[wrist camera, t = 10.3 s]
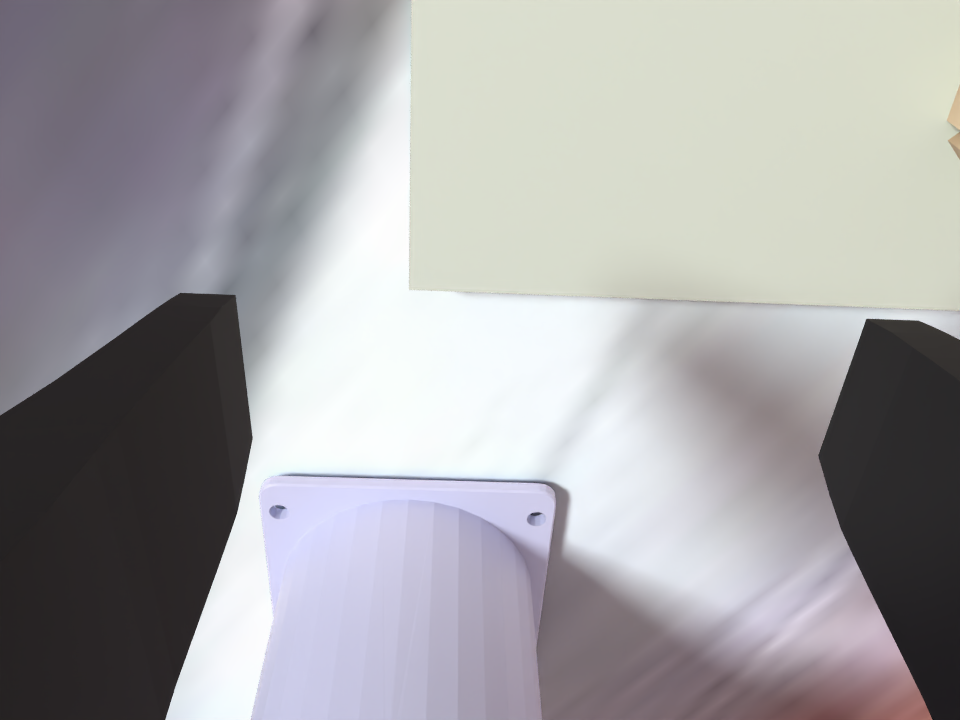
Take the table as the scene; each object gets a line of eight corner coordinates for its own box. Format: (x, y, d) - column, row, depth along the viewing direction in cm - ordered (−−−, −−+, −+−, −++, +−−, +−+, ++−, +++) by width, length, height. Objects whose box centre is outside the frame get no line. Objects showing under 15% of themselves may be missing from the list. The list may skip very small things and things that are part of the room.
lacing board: (1132, 292, 21) (1347, 459, 16) (412, 263, 20) (394, 429, 15) (1405, -214, 15) (1879, -208, 10) (417, -280, 14) (392, -308, 9)
